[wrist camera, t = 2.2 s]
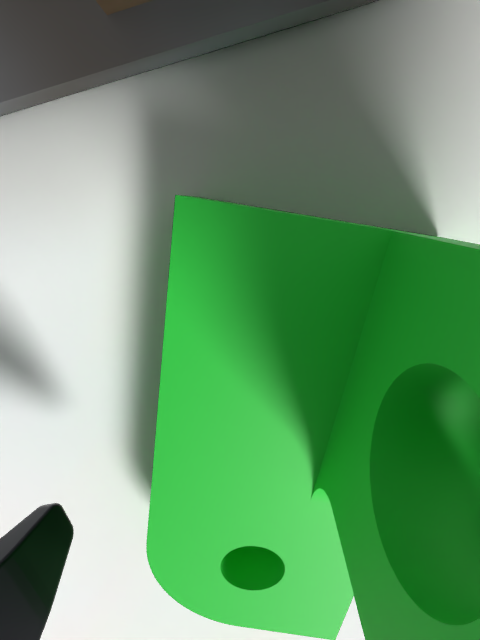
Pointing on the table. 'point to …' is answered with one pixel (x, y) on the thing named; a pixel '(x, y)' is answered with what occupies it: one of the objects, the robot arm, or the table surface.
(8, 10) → the seat
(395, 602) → the mechanical part
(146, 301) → the table surface
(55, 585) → the robot arm
